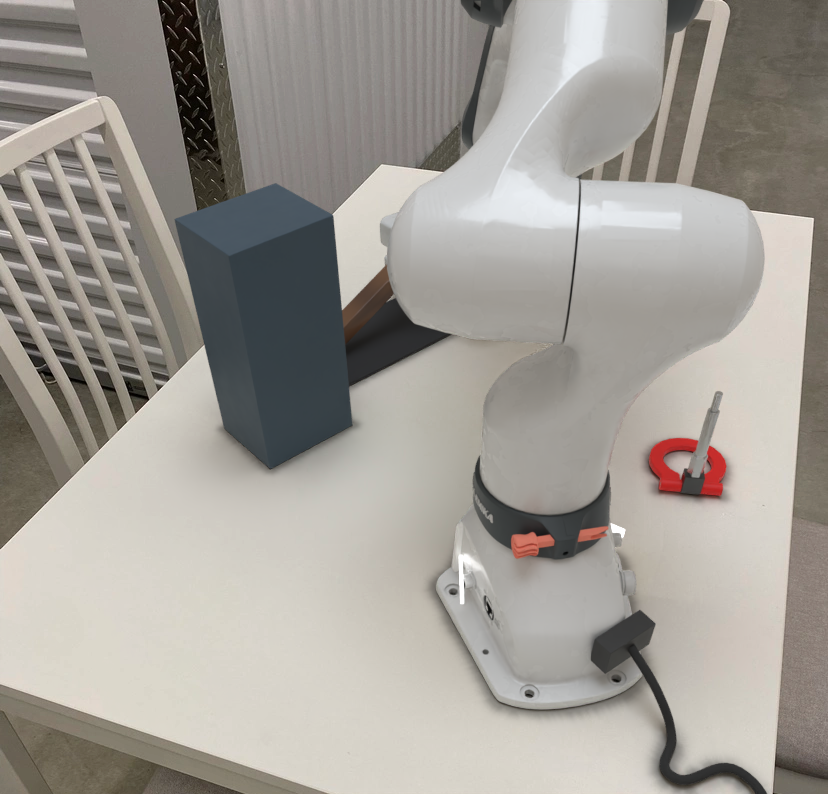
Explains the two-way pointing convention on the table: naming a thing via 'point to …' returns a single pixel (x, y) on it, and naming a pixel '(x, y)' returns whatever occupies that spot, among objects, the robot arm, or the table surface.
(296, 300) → the stand
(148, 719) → the table surface
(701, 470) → the tow hook
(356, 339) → the mat
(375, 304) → the hanger bar
